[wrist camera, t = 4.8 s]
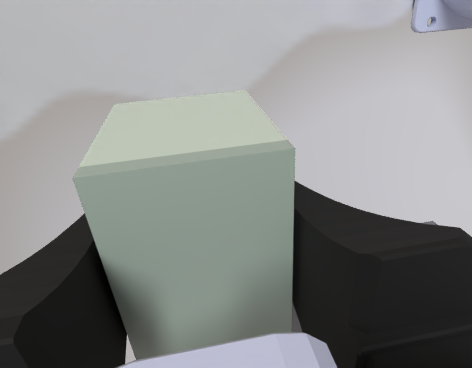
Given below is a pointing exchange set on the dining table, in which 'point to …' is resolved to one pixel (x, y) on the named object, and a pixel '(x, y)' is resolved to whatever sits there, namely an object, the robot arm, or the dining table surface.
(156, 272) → the block
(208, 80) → the dining table surface
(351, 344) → the robot arm
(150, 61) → the dining table surface
